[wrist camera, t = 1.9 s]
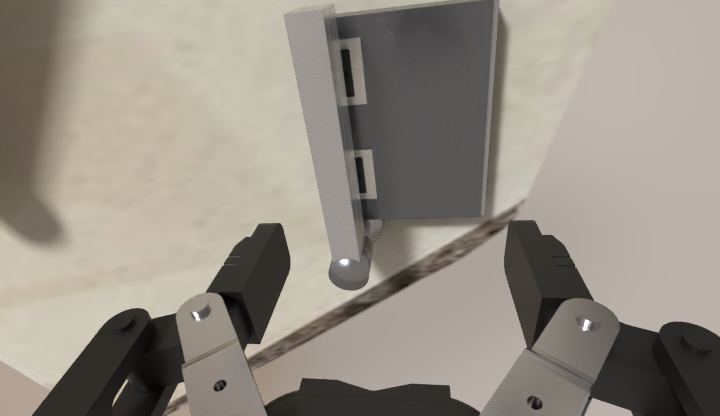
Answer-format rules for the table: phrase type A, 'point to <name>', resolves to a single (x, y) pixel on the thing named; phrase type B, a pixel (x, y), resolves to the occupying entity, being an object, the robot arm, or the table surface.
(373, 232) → the pivot post
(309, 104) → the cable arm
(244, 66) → the table surface
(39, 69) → the table surface
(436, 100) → the panel
